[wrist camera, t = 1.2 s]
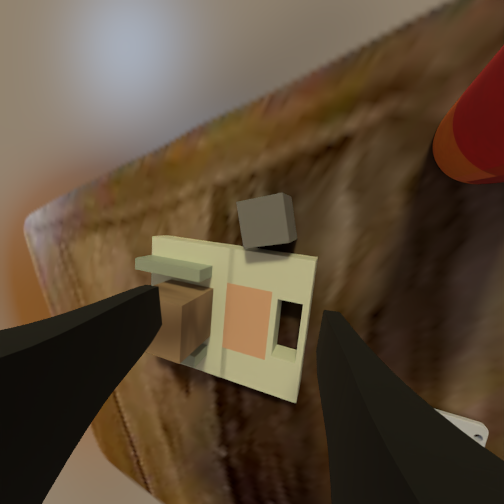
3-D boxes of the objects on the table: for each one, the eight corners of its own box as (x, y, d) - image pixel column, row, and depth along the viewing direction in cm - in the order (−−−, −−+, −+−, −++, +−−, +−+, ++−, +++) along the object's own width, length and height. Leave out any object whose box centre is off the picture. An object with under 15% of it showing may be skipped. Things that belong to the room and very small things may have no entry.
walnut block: (210, 335, 22) (179, 363, 17) (169, 324, 23) (131, 347, 19) (213, 288, 21) (182, 305, 17) (170, 279, 22) (131, 293, 18)
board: (299, 387, 21) (291, 423, 18) (163, 343, 26) (134, 364, 22) (317, 257, 19) (313, 265, 16) (166, 235, 24) (135, 238, 20)
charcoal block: (297, 238, 20) (289, 242, 17) (258, 244, 21) (243, 248, 18) (291, 196, 20) (282, 192, 16) (252, 204, 21) (236, 202, 18)
